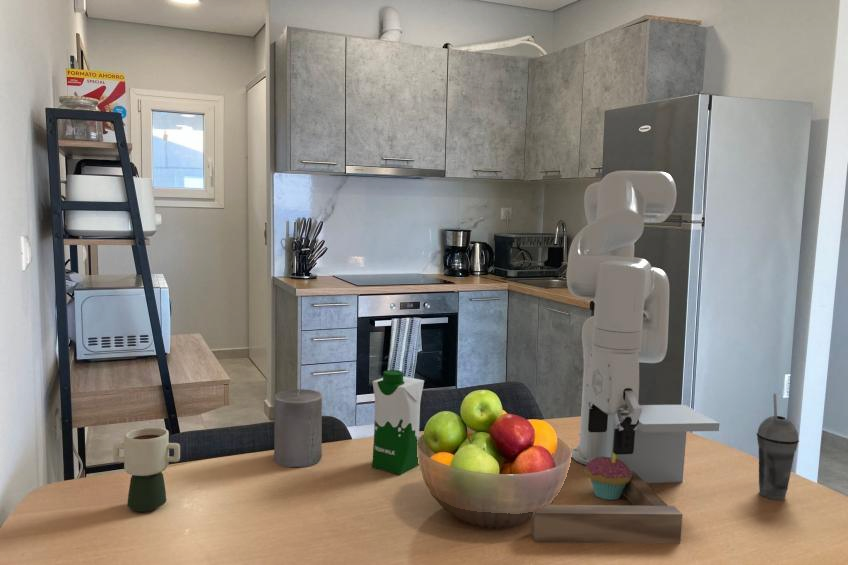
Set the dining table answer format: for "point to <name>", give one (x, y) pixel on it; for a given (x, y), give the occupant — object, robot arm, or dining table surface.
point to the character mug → (146, 465)
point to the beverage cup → (776, 454)
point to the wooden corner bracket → (611, 520)
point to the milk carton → (396, 422)
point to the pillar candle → (298, 428)
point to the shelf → (663, 441)
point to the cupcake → (608, 476)
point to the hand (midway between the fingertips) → (609, 442)
